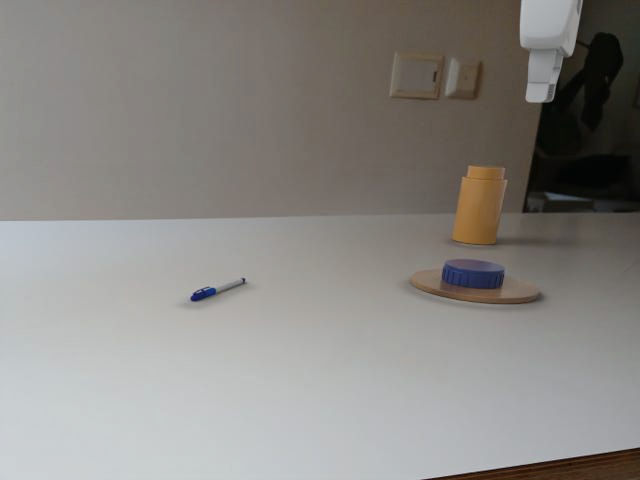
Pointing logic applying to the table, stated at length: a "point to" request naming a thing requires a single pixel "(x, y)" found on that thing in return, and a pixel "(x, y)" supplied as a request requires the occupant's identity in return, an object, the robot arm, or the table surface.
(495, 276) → the lid
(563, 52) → the robot arm
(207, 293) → the ballpoint pen
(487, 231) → the jar
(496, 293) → the coaster
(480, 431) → the table surface
